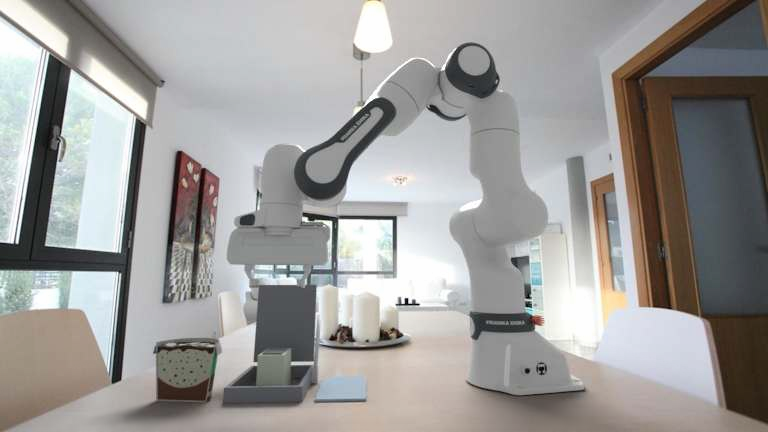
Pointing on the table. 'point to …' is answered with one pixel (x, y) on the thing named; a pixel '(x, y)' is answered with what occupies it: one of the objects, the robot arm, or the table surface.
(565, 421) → the table surface
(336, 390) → the mat
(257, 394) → the case
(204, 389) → the food container
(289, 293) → the lid
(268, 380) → the module
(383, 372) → the table surface
